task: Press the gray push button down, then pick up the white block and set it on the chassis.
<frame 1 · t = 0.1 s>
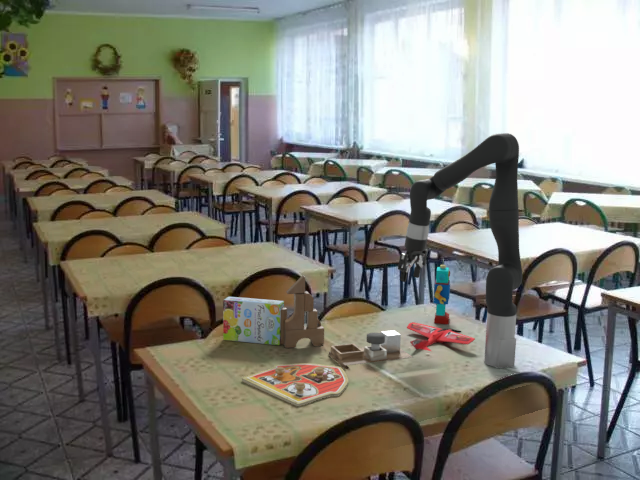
hand: (409, 279, 266), 22 cm above the table, tool pointing down, fingers open, 8 cm apart
knob puzzle: (305, 383, 229), on the table
wooden toy: (300, 344, 262), on the table, touching snack box
gray push button: (375, 342, 246), point 6 cm above the table, slide at 0.0 cm
snack box: (253, 341, 265), on the table, touching wooden toy
chassis: (370, 357, 250), on the table
toy airplane: (433, 347, 263), on the table
white block: (390, 349, 255), point 1 cm above the table, touching chassis
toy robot: (440, 321, 293), on the table
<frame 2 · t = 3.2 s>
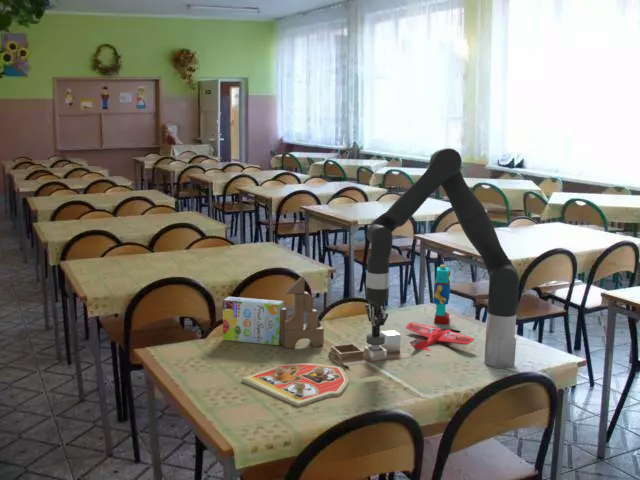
hand: (375, 336, 246), 8 cm above the table, tool pointing down, fingers closed
gray push button: (375, 343, 246), point 6 cm above the table, slide at 0.3 cm, touching gripper
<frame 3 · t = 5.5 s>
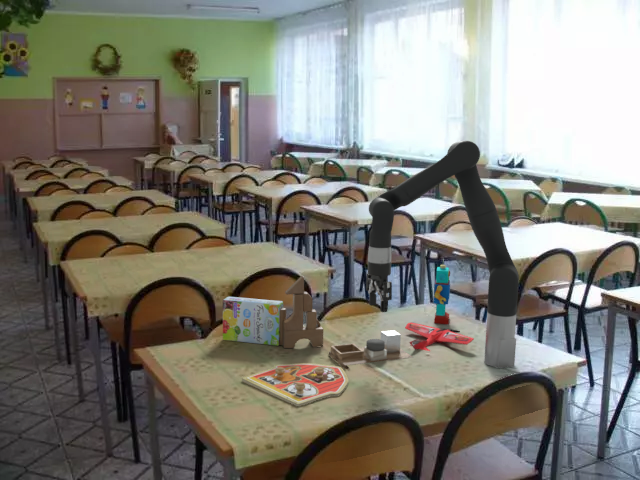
hand: (378, 308, 244), 18 cm above the table, tool pointing down, fingers open, 8 cm apart
gray push button: (375, 349, 247), point 4 cm above the table, slide at 2.2 cm
everything else where it was.
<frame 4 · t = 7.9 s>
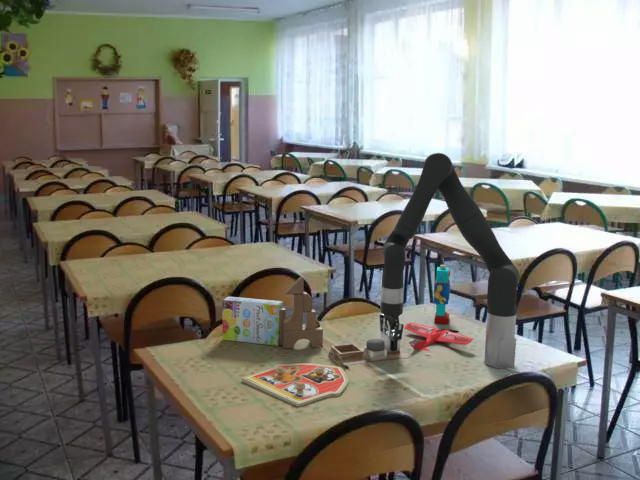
hand: (390, 347, 255), 2 cm above the table, tool pointing down, fingers closed on white block, 5 cm apart
white block: (390, 349, 255), point 1 cm above the table, touching chassis, gripper
everything else where it was.
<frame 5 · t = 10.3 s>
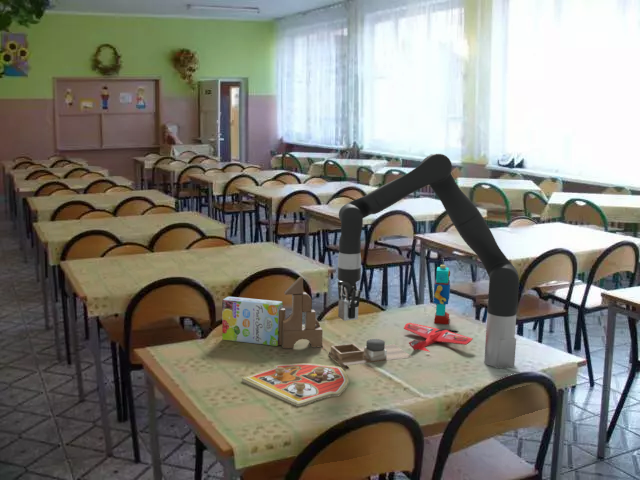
hand: (348, 315, 247), 15 cm above the table, tool pointing down, fingers closed on white block, 5 cm apart
white block: (348, 317, 247), point 14 cm above the table, touching gripper
when the fingers open (4 cm above the table, at t = 12.6 s): white block drops 2 cm, resting on chassis.
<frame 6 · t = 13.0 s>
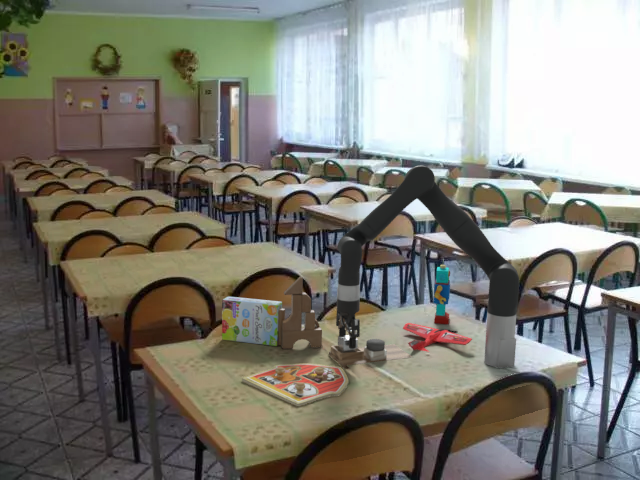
hand: (347, 344, 248), 5 cm above the table, tool pointing down, fingers open, 8 cm apart
white block: (347, 354, 249), point 1 cm above the table, touching chassis
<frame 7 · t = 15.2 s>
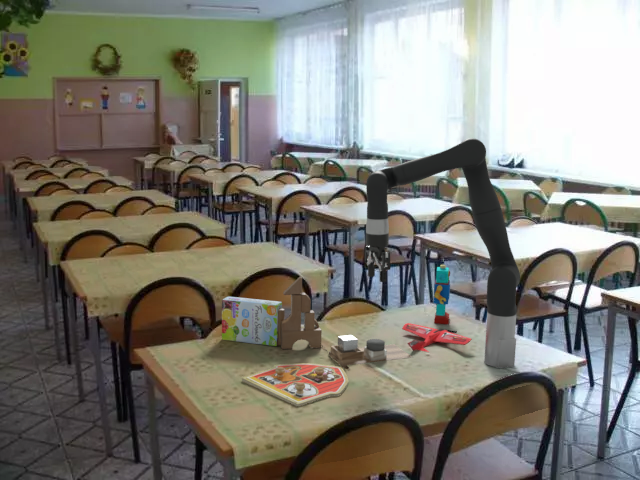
hand: (377, 279, 251), 26 cm above the table, tool pointing down, fingers open, 8 cm apart
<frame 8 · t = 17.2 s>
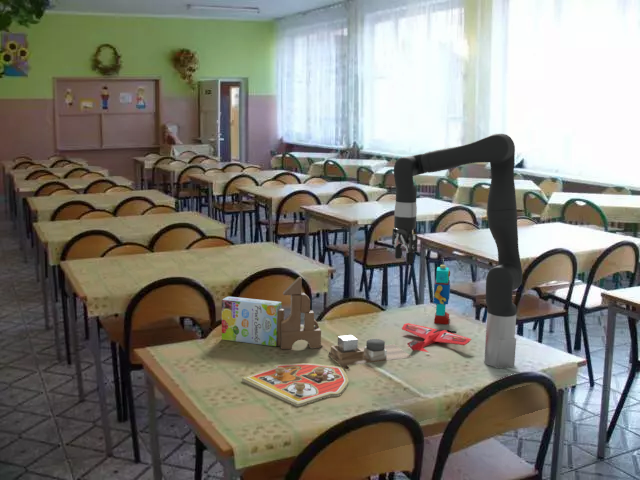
hand: (403, 260, 259), 30 cm above the table, tool pointing down, fingers open, 8 cm apart
at the end: white block 0.2 cm from the target spot, point 1.2 cm above the table; gray push button slide at 2.2 cm; white block tilted 0° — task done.
